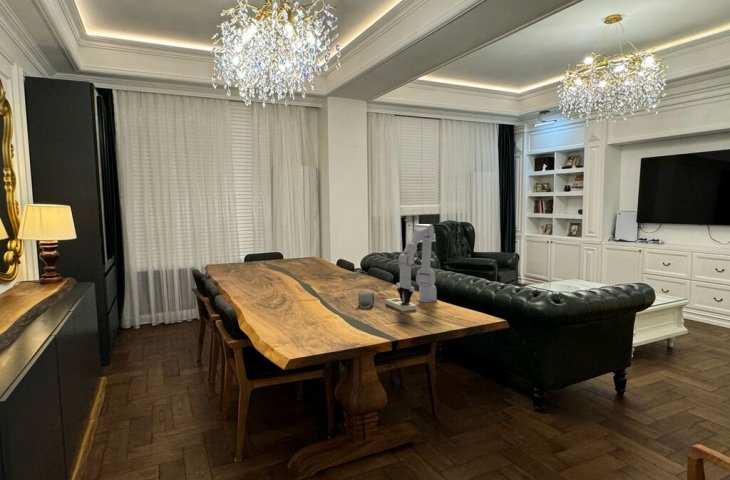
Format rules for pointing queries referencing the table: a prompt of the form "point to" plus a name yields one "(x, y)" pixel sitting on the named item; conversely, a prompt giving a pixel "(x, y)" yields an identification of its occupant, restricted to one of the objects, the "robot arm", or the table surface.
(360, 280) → the table surface
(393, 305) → the board
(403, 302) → the pin
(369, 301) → the ceramic mug
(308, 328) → the table surface
